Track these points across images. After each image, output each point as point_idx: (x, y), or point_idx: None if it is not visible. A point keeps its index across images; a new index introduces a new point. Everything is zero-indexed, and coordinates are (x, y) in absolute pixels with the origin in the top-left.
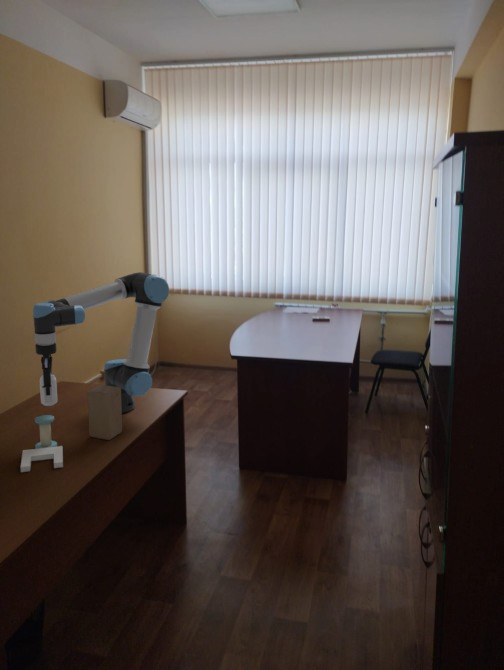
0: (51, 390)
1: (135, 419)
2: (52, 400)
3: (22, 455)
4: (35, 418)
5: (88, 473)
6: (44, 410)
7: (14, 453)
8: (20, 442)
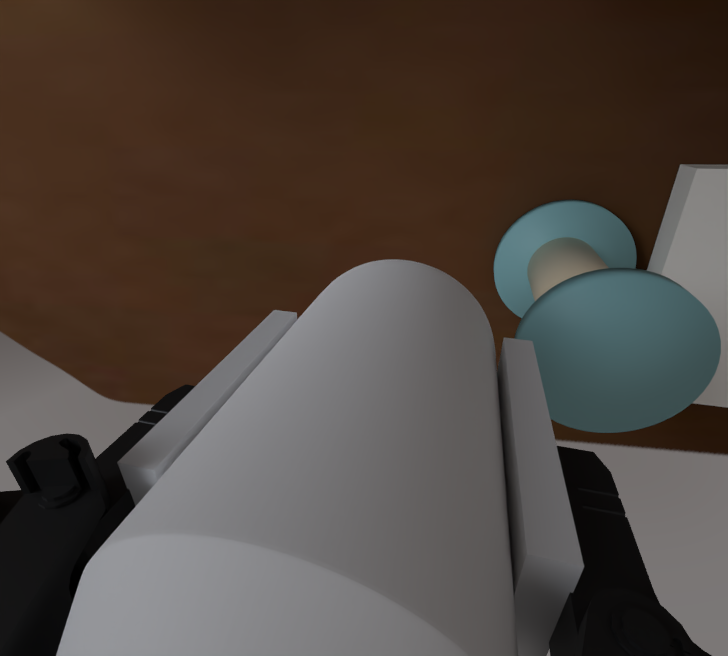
0: (563, 485)
1: None
2: (514, 350)
3: (701, 402)
4: (571, 424)
5: None
6: (53, 252)
7: None
8: None
